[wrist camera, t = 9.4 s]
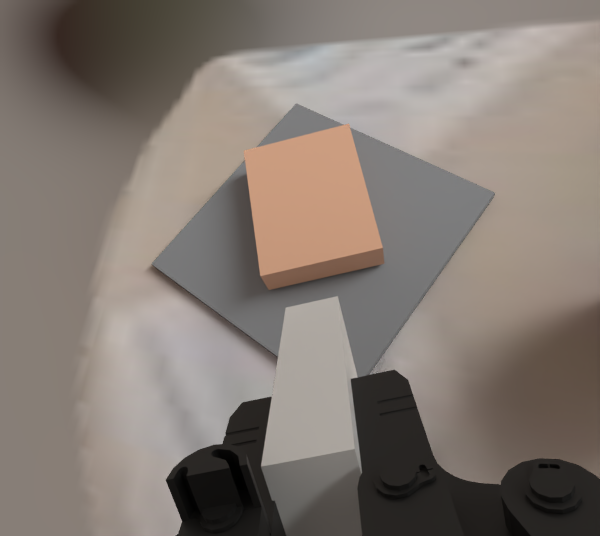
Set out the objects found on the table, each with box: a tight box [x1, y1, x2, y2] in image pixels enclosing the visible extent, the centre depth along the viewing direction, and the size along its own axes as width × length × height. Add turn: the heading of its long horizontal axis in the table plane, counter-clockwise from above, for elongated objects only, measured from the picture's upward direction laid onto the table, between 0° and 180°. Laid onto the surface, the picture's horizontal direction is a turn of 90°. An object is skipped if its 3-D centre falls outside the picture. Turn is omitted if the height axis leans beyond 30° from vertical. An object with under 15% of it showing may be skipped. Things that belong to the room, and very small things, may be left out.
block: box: [244, 124, 384, 290], centre depth 40 cm, size 3×9×12 cm
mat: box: [152, 104, 495, 377], centre depth 41 cm, size 20×20×1 cm
